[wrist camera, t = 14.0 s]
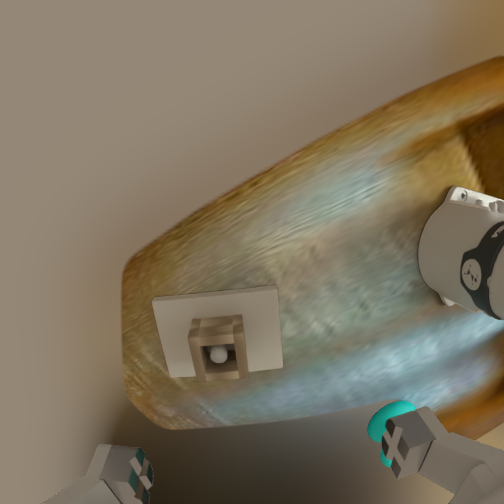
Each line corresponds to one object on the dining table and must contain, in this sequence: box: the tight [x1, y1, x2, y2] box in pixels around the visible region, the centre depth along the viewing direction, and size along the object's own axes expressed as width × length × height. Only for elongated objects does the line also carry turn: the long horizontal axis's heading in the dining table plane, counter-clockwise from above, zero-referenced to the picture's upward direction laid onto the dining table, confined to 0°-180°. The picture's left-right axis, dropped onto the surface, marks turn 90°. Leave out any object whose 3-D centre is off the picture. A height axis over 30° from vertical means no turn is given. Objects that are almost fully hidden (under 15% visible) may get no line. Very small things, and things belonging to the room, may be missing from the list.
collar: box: [188, 314, 249, 382], centre depth 38 cm, size 6×6×5 cm
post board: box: [152, 285, 283, 377], centre depth 39 cm, size 16×12×6 cm
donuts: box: [368, 401, 416, 467], centre depth 44 cm, size 10×10×10 cm
